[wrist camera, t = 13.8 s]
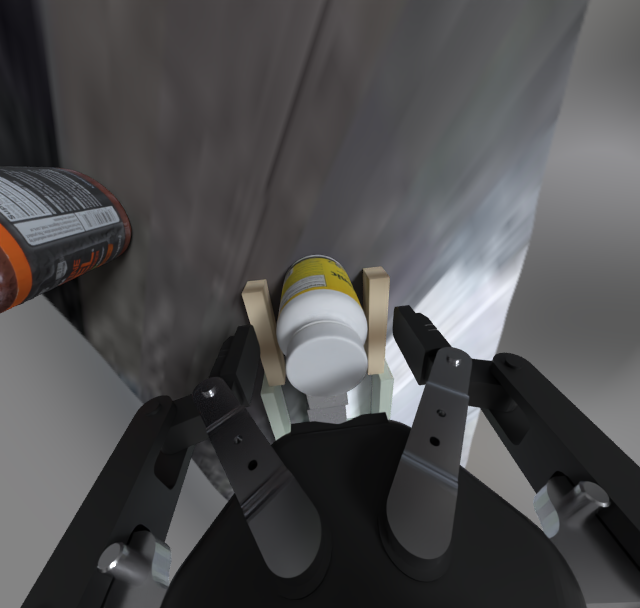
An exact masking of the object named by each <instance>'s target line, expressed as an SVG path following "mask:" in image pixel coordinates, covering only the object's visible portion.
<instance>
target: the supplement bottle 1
mask: <svg viewBox="0 0 640 608" xmlns="http://www.w3.org/2000/svg"><path fill="white" fill-rule="evenodd" d="M130 239H131V226H130V222H129V219H128V217H127V215H126V212H125V210H124V208H123V207H122V206H121V204H120V202H119V201H118V200H117V199H116V197H115V196H114V195H113V194H112V193H111V192H110V191H108V190H107V189H106V188H105V187H104V186H103V185H101V184H100V183H98V182H97V181H95V180H94V179H92V178H90V177H89V176H86V175H84V174H82V173H79V172H77V171H74V170H69V169H63V168H49V167H0V313H2V312H4V311H6V310H8V309H11V308H12V307H14V306H17V305H20V304H23V303H24V302H26V301H28V300H31V299H33V298H34V297H36V296H38V295H40V294H42V293H45V292H47V291H49V290H51V289H53V288H55V287H57V286H59V285H61V284H64V283H66V282H68V281H70V280H72V279H74V278H76V277H78V276H80V275H83V274H85V273H87V272H89V271H91V270H93V269H95V268H97V267H99V266H101V265H103V264H106V263H107V262H110V261H112V260H114V259H115V258H116V257H118V256H120V255H121V254H122V253H123V252H124V251H125V250H126V249H127V247H128V245H129V243H130Z"/></svg>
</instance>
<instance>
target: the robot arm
mask: <svg viewBox="0 0 640 608" xmlns="http://www.w3.org/2000/svg"><path fill="white" fill-rule="evenodd" d="M393 336H394V339H395V341H396V343H397V345H398V347H399V348H400V350H401V352H402V354H403V356H404V358H405V360H406V362H407V364H408V366H409V367H410V369H411V371H412V373H413V375H414V377H415V379H416V381H417V383H418V384H419V385H425V384H426V385H425V388H424V391H423V394H422V397H421V400H420V403H419V406H418V410H417V413H416V416H415V419H414V422H413V425H412V428H411V427H409V426H407V425H405V424H403V423H400V422H398V421H394V420H388V418H387V415H386V412H380V413H373V414H365V415H361V416H358V417H356V418H353V419H351V420H348V421H346V422H343V423H341V424H334V423H326V422H318V421H311V422H303V423H295V424H291V432H289V433H287V434H285V435H283V436H282V437H280V438H279V439H277V440H276V441H275V442H274V443H273V444H272V445H270V443H269V442H268V441H267V439H266V438H265V436H264V435H263V433H262V432H261V430H260V429H259V427H258V426H257V425H256V423H255V422H254V420H253V419H252V417H251V416H250V414H249V413H248V411H247V410H246V409H245V407H249V406H250V403H251V398H252V394H253V389H254V384H255V379H256V374H257V370H258V365H259V360H260V354H261V352H260V345H259V342H258V339H257V335H256V332H255V329H254V327H253V325H246V326H239V327H238V328H237V331H236V333H235V336H230V337H229V338H228V339H227V340H226V341H225V342H224V343H223V345H222V348H221V350H220V352H219V355H218V358H217V359H216V362H215V364H214V366H213V369H212V371H211V373H210V376H209V378H208V379H206V380H204V381H202V382H201V383H200V384H198V385H197V386H196V388H195V389H194V391H193V393H192V394H191V395H188V396H186V397H183V398H181V399H178V400H175V401H172V399H171V398H170V397H169V396H158V397H155V398H153V399H151V400H149V401H148V402H146V403H145V404H144V405H143V406H142V407H141V408H140V409H139V410H138V411H137V413H136V414H135V416H134V418H133V419H132V421H131V423H130V424H129V426H128V428H127V429H126V431H125V433H124V434H123V436H122V438H121V439H120V441H119V443H118V444H117V446H116V448H115V450H114V451H113V453H112V455H111V456H110V458H109V460H108V461H107V463H106V465H105V466H104V468H103V470H102V471H101V473H100V475H99V476H98V478H97V480H96V481H95V483H94V485H93V487H92V488H91V490H90V492H89V493H88V495H87V497H86V498H85V500H84V502H83V503H82V505H81V507H80V508H79V510H78V512H77V513H76V515H75V517H74V519H73V520H72V522H71V523H70V525H69V527H68V529H67V530H66V532H65V534H64V535H63V537H62V539H61V540H60V542H59V544H58V545H57V547H56V549H55V550H54V552H53V554H52V556H51V557H50V559H49V561H48V562H47V564H46V566H45V567H44V569H43V571H42V572H41V574H40V576H39V577H38V579H37V581H36V583H35V584H34V586H33V587H32V589H31V591H30V592H29V594H28V596H27V598H26V599H25V601H24V603H23V605H22V606H21V608H640V467H639V466H638V465H637V464H636V463H635V462H634V461H633V460H632V459H631V458H630V457H628V456H627V455H626V454H625V453H624V452H623V451H622V450H621V449H620V448H619V447H618V446H617V445H616V444H615V443H614V442H613V441H612V440H611V439H609V438H608V436H606V435H605V434H604V433H603V432H602V431H601V430H600V429H599V428H598V427H597V426H596V425H595V424H594V423H593V422H592V421H591V420H590V419H589V418H588V417H587V416H585V415H584V414H583V413H582V412H581V411H580V410H579V409H578V408H577V407H576V406H575V405H574V404H573V403H572V402H571V401H570V400H569V399H568V398H567V397H566V396H565V395H563V394H562V393H561V392H560V391H559V390H558V389H557V388H556V387H555V386H554V385H553V384H552V383H551V382H550V381H549V380H548V379H547V378H545V376H544V375H542V374H541V373H540V372H539V371H538V370H537V369H536V368H535V367H534V366H533V365H532V364H531V363H530V362H529V361H527V360H526V359H524V358H522V357H520V356H518V355H515V354H511V353H499V354H496V355H495V356H494V357H493V360H492V361H487V360H478V359H472V358H471V357H470V356H469V355H468V354H467V353H466V352H464V351H462V350H460V349H457V348H453V347H451V345H450V344H449V343H448V342H447V340H446V339H445V338H444V337H443V336H442V334H441V333H440V332H439V331H438V330H437V328H436V327H435V326H434V325H433V323H432V322H431V321H430V320H429V318H428V317H426V316H424V315H423V314H421V313H415V312H414V311H413V309H412V308H411V307H410V306H409V305H406V306H399V307H395V308H394V317H393ZM468 406H473V407H479V408H481V410H482V412H483V413H484V415H485V416H486V418H487V419H488V421H489V422H490V424H491V425H492V427H493V428H494V430H495V431H496V433H497V434H498V436H499V437H500V439H501V440H502V442H503V444H504V445H505V447H506V448H507V450H508V451H509V453H510V454H511V456H512V457H513V459H514V460H515V462H516V463H517V465H518V466H519V468H520V469H521V471H522V472H523V474H524V475H525V477H526V478H527V480H528V482H529V483H530V485H531V486H532V488H533V489H534V491H535V492H536V495H535V497H534V509H535V512H536V514H537V516H538V518H539V520H540V522H541V525H542V528H543V531H542V530H541V529H540V528H539V527H538V526H537V525H535V524H534V523H533V522H532V521H531V520H530V519H528V518H527V517H526V516H525V515H523V514H522V513H521V512H520V511H518V510H517V509H516V508H514V507H513V506H512V505H511V504H509V503H508V502H507V501H506V500H504V499H503V498H502V497H500V496H499V495H498V494H497V493H495V492H494V491H493V490H491V489H490V488H489V487H488V486H486V485H485V484H484V483H482V482H481V481H479V479H477V478H476V477H475V476H473V475H472V474H471V473H470V472H468V471H467V470H466V469H465V468H463V467H462V466H461V465H460V459H461V452H462V445H463V438H464V431H465V424H466V417H467V410H468ZM208 438H210V441H211V443H212V445H213V447H214V449H215V451H216V453H217V456H218V458H219V460H220V462H221V464H222V466H223V469H224V471H225V473H226V475H227V477H228V479H229V482H230V484H231V486H232V488H233V490H234V492H235V493H234V494H233V496H232V497H231V499H230V500H229V501H228V503H227V504H226V505H225V507H224V508H223V509H222V511H221V512H220V513H219V515H218V516H217V517H216V519H215V520H214V522H213V523H212V524H211V526H210V527H209V528H208V530H207V531H206V532H205V534H204V535H203V536H202V538H201V539H200V540H199V542H198V543H197V545H196V546H195V547H194V549H193V550H192V551H191V553H190V554H189V555H188V557H187V558H186V559H185V561H184V562H183V564H182V565H181V566H180V568H179V569H178V571H177V572H176V574H175V576H174V577H173V579H172V581H171V583H170V584H169V569H170V564H171V550H170V547H169V546H168V545H167V544H166V543H165V539H166V536H167V532H168V529H169V526H170V523H171V520H172V517H173V513H174V511H175V507H176V504H177V501H178V498H179V495H180V492H181V488H182V485H183V482H184V479H185V476H186V473H187V469H188V466H189V463H190V460H191V457H192V454H193V451H194V447H195V444H197V443H199V442H201V441H204V440H206V439H208Z"/></svg>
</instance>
